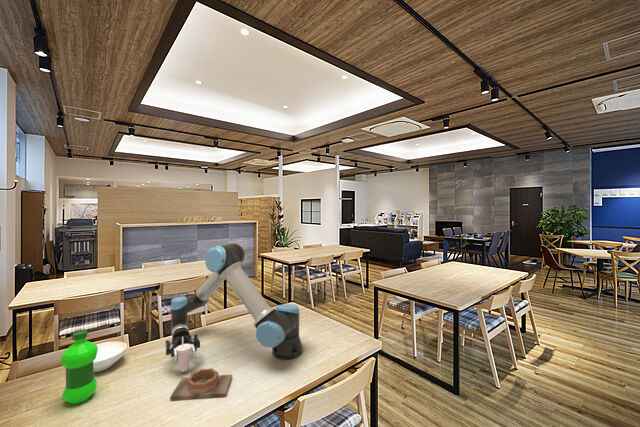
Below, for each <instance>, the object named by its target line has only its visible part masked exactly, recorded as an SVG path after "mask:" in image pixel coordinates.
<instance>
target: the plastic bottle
mask: <svg viewBox="0 0 640 427" xmlns="http://www.w3.org/2000/svg"><path fill="white" fill-rule="evenodd" d="M87 337H88V330H85V329H84V330H79V331H75V332H73V333H72V336H71V338H72V341H73V343H72V344H71V345H69V346H68V348H67V349H65V350H64V351H63V353H62V356H61V358H60V364H61V366H62V367H64V368H65V387H64V390H63V392H62V396H61V397H62V399H63V401H64V402H67V403H69V404H72V405H78V404H81V403H83V402H85V401H87V400H88V399H89V398H90V397H91V396H92V395H93V394H94V393H95V391H96V389H97V385H98V384H97V382H98V381H97V379H96V378H95V376H94V374H95V372H94V367H93V361H94V360H95V359H96V356H97V352H98V347H97V346H96V344H95V343H93V342H91V341H89V340H86V338H87Z"/></svg>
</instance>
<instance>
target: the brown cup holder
mask: <svg viewBox="0 0 640 427" xmlns="http://www.w3.org/2000/svg"><path fill="white" fill-rule="evenodd" d="M232 380H233V374H221V375H219V371H217V370H215V369H214V368H201V369H198V370H196V371H193V373H192V372H191V373H190V375H189V377H188V376H187V377H181V379H180V381H179V382H178V384H177V385H176V386H175V389H174V390H173V391H172V393H171V395H170V397H169V401H170V402H174V401H175V402H176V401H189V400H202V399H203V400H204V399H214V398H215V399H216V398H227V394H228V392H229V389H230V385H231V383H232Z"/></svg>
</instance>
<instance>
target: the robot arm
mask: <svg viewBox="0 0 640 427" xmlns="http://www.w3.org/2000/svg"><path fill="white" fill-rule="evenodd" d="M245 257H246V252H245V250H244V247H242V246H241V245H240V244H238V243H228V244H223V245H222V244H221V245H216V246H212V247H211V248H210V249H209V250H208V251H207V252H206V254H205V260H204V263H205V267H206V268H207V270H208V271H209V272H211V273H210V275H209V276H208V278H207V279H206V280H205V281H204V282H203V284H202V285H201V286H200V287H198V290H196V292H195V293H194V294H193V295H191V296H189V297H187V296H185V295H181V296H175V297H173V298H172V299H171V301H170V302H171V303H170V311H171V312H170V316H171V319H170V331H171V337H172V339H171V340H168V339H167V340H165V347H166V348H165V355H166V356H169V355H170V357H171V358H174V362H176V363H177V362H178V357H177V352H176V348H177V347H178V346H179V345H182V337H183V344H191V345H192V349H191V354H192V356H193V357H192V358H195V357H196V352H197V351H198V349H199V348H201V340H199V337H198V334H197V333H196V334H194V335H193V336H192V335H191V334H190V331H189V330H190V329H189V327H188V313H191V312H192V311H193V312H194V310H197V309H199V308H203V307H204V306H206V305H208V303H209V300H210V297H212V296H213V294H214V293H215V292H216V291H217V289H219V287H221V285H222V284H223V282H224V281H225V280H226V281H227V283H228V285H229V286H230V287H231V289H232V290H233V291H234V293H235V295H236V296H237V297H238V298H239V300H240V301H241V302H242V304H243V305H244V307H245V308H246V310H247V311H248V312H249V314H250V316H251V317H252V318H253V319H254V323H253V325H254V327H255V329H256V330H255V333H256V334H255V338H256V339H257V342H259V344H261V345H262V346H263V347H266V348H272V350H271V351H272V352H271V354H272V356H274V357H275V358H277V359H281V360H293V359H296V358H298V357H300V356H301V355H302V354H303V352H304V351H303V347H304V346H303V344H302V341H301V340H302V339H301V337H300V315H301V313H300V308H299V306H298V305H295V304H290V303H287V304H279V305H276V307H271V306H270V305H269V304H268V302H267V301H266V299H265V298H264V297H263V295H262V294H261V292H259V290H258V289H257V287H256V286H255V285H254V283H253V282H252V280H251V279H250V278H249V276H248V275H247V274H246V273H245V270H243V268H242V263H243V262H244V260H245ZM171 345H172V346H171Z"/></svg>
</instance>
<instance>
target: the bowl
mask: <svg viewBox="0 0 640 427" xmlns="http://www.w3.org/2000/svg"><path fill="white" fill-rule="evenodd" d="M95 345H96V346H97V347H98V352H97V356H96V359H95V360H94V361H93V367H94V373H98V372H99V373H100V372H102V371H105V370H107V369H108V368H110V367H112V366H113V365H114V364H115V363H116V362H117V361H118V360H120V359H121V358H122V357H124V355H125V354H126V352H127V346H128V345H127V343H125V342H122V341H106V342H101V343H96V344H95Z"/></svg>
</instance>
